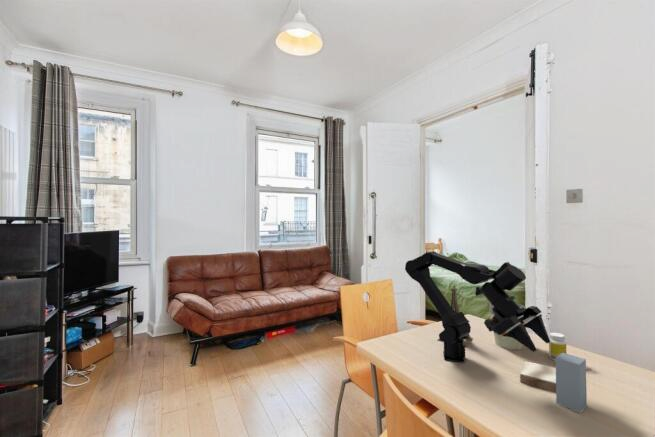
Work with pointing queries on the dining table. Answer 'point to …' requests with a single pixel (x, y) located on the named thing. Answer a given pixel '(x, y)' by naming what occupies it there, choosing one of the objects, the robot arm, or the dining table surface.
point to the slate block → (571, 382)
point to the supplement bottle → (556, 345)
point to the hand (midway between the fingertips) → (542, 346)
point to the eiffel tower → (455, 307)
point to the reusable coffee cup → (505, 341)
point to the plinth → (538, 375)
